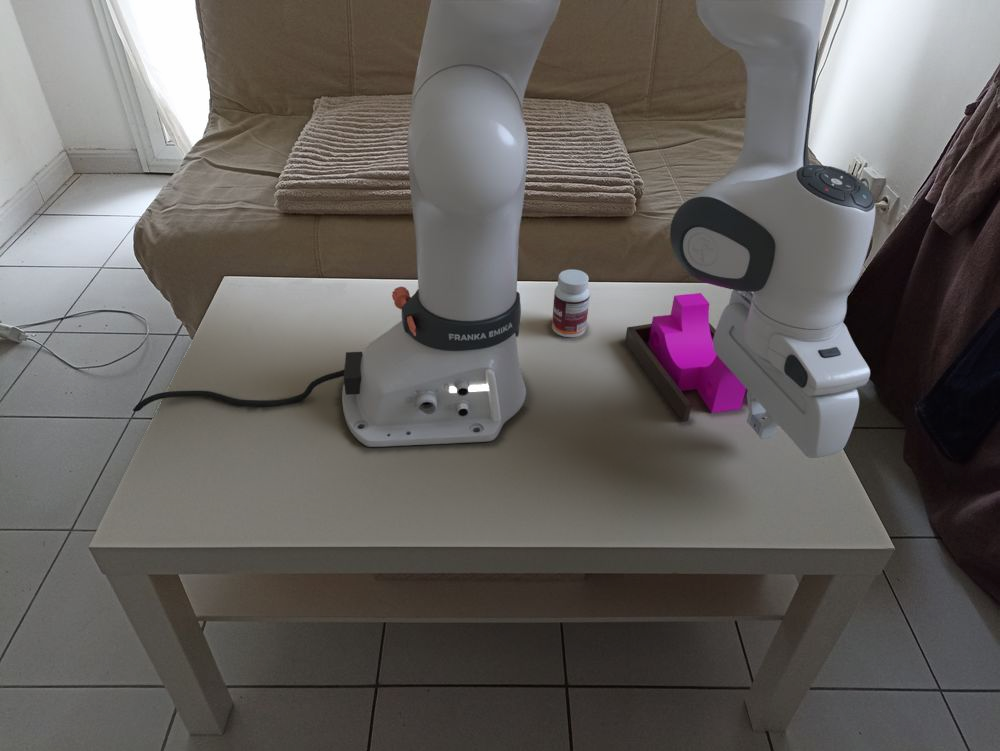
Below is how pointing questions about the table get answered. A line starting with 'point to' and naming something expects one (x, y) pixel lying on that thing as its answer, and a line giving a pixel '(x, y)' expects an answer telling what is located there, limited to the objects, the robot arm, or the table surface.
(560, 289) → the pill bottle
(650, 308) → the table surface
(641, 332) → the bay
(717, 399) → the toy block
